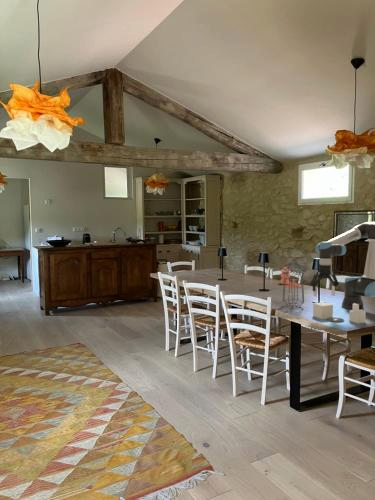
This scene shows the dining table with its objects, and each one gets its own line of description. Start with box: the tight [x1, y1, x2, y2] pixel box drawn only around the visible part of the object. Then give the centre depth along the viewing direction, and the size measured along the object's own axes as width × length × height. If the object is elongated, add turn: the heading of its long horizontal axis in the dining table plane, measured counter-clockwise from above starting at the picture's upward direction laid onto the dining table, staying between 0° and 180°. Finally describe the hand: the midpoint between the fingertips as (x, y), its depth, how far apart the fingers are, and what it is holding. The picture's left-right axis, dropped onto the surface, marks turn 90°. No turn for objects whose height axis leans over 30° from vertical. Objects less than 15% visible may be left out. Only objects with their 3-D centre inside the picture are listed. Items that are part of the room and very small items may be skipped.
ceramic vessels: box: [279, 266, 303, 289], centre depth 386 cm, size 35×21×19 cm, turn 11°
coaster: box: [327, 316, 345, 323], centre depth 258 cm, size 10×10×1 cm
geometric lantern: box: [280, 261, 308, 309], centre depth 296 cm, size 16×16×35 cm
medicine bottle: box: [348, 303, 367, 324], centre depth 253 cm, size 7×7×12 cm
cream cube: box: [312, 301, 334, 320], centre depth 266 cm, size 9×9×9 cm
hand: (324, 295), depth 265 cm, fingers open, 13 cm apart
